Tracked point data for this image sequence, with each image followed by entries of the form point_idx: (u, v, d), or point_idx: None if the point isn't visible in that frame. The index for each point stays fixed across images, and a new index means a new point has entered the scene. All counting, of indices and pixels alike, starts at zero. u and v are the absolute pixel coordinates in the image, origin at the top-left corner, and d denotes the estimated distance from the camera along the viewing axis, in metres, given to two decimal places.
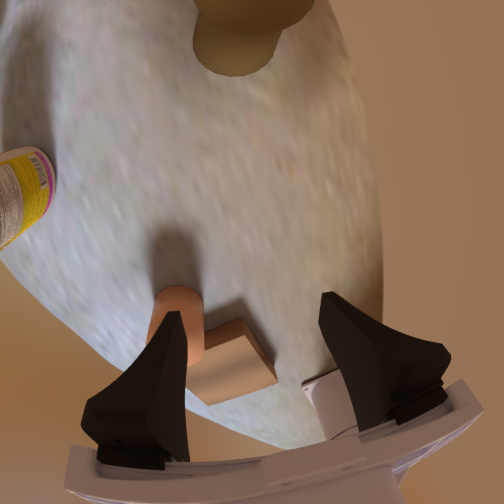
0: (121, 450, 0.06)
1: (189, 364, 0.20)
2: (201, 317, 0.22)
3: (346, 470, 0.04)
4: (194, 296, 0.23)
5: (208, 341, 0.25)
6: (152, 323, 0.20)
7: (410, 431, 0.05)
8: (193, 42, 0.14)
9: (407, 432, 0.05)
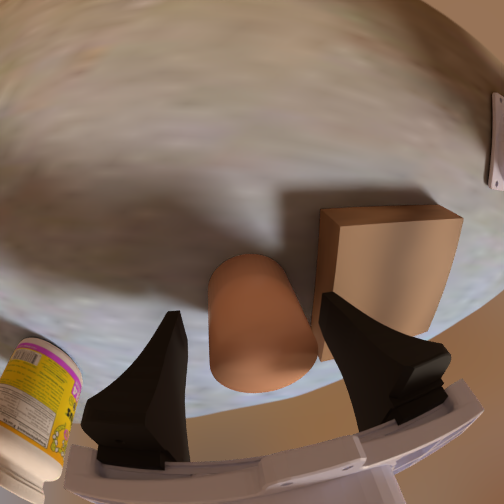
0: (121, 450, 0.06)
1: (314, 354, 0.11)
2: (258, 281, 0.12)
3: (346, 470, 0.04)
4: (233, 265, 0.14)
5: (325, 283, 0.14)
6: None
7: (410, 431, 0.05)
8: None
9: (407, 432, 0.05)
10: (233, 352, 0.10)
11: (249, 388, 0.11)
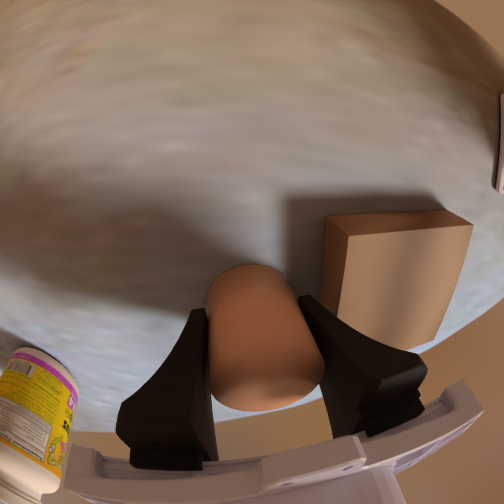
0: (156, 453, 0.06)
1: (320, 373, 0.10)
2: (261, 295, 0.11)
3: (346, 470, 0.04)
4: (233, 277, 0.13)
5: (331, 294, 0.13)
6: None
7: (410, 431, 0.05)
8: None
9: (407, 432, 0.05)
10: (234, 373, 0.09)
11: (251, 407, 0.10)
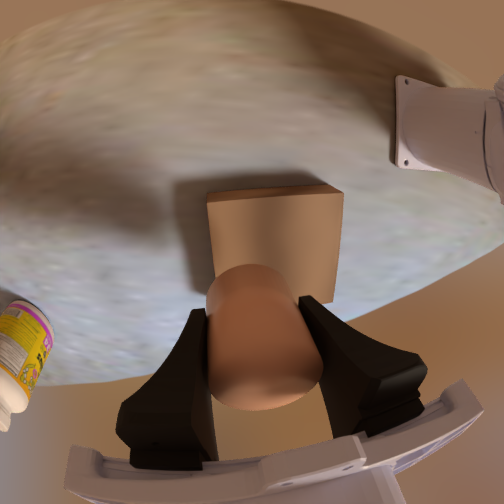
0: (156, 453, 0.06)
1: (319, 372, 0.10)
2: (259, 295, 0.11)
3: (346, 470, 0.04)
4: (232, 277, 0.13)
5: None
6: None
7: (410, 431, 0.05)
8: None
9: (407, 432, 0.05)
10: (233, 372, 0.09)
11: (250, 406, 0.11)
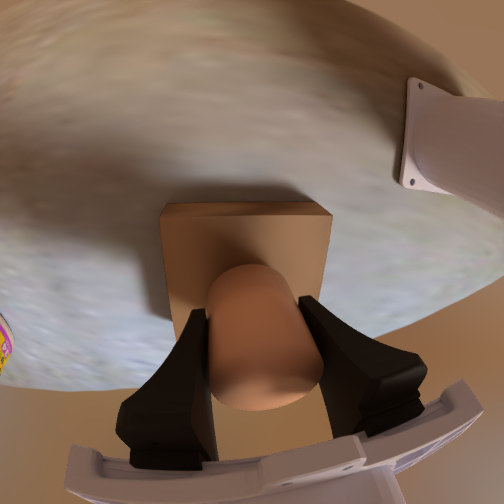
0: (156, 453, 0.06)
1: (319, 372, 0.10)
2: (260, 295, 0.11)
3: (346, 470, 0.04)
4: (232, 277, 0.13)
5: None
6: None
7: (410, 431, 0.05)
8: None
9: (407, 432, 0.05)
10: (234, 372, 0.09)
11: (251, 406, 0.11)
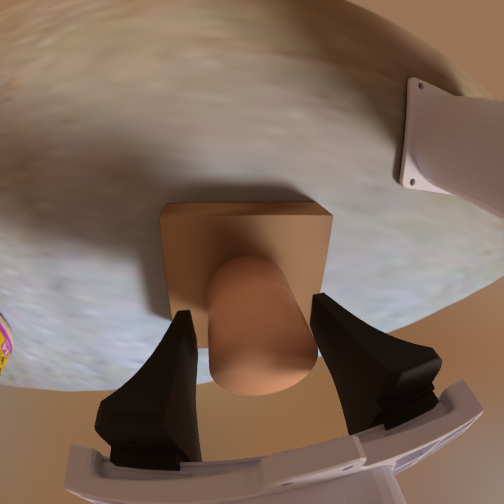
0: (135, 451, 0.06)
1: (314, 357, 0.11)
2: (257, 283, 0.12)
3: (346, 470, 0.04)
4: (232, 268, 0.14)
5: None
6: None
7: (410, 431, 0.05)
8: None
9: (407, 432, 0.05)
10: (232, 355, 0.10)
11: (249, 391, 0.11)
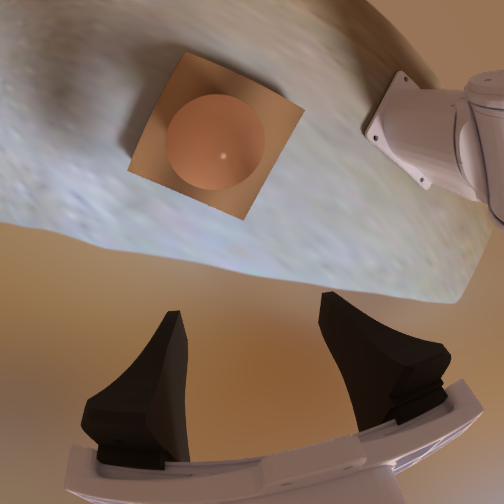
0: (121, 450, 0.06)
1: (257, 159, 0.12)
2: None
3: (346, 470, 0.04)
4: None
5: None
6: None
7: (410, 431, 0.05)
8: None
9: (407, 432, 0.05)
10: (197, 114, 0.11)
11: (185, 171, 0.12)
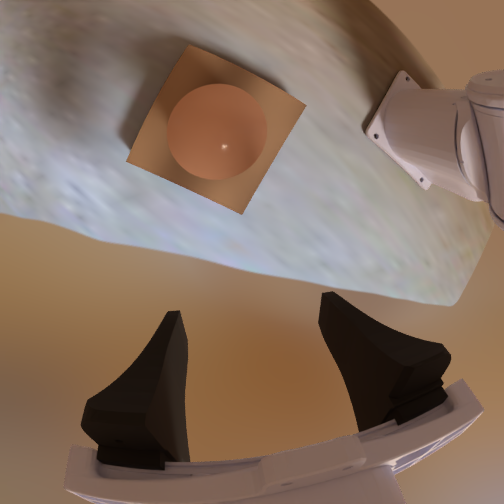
0: (121, 450, 0.06)
1: (258, 150, 0.12)
2: None
3: (346, 470, 0.04)
4: None
5: None
6: None
7: (410, 431, 0.05)
8: None
9: (407, 432, 0.05)
10: (200, 103, 0.11)
11: (185, 159, 0.12)
